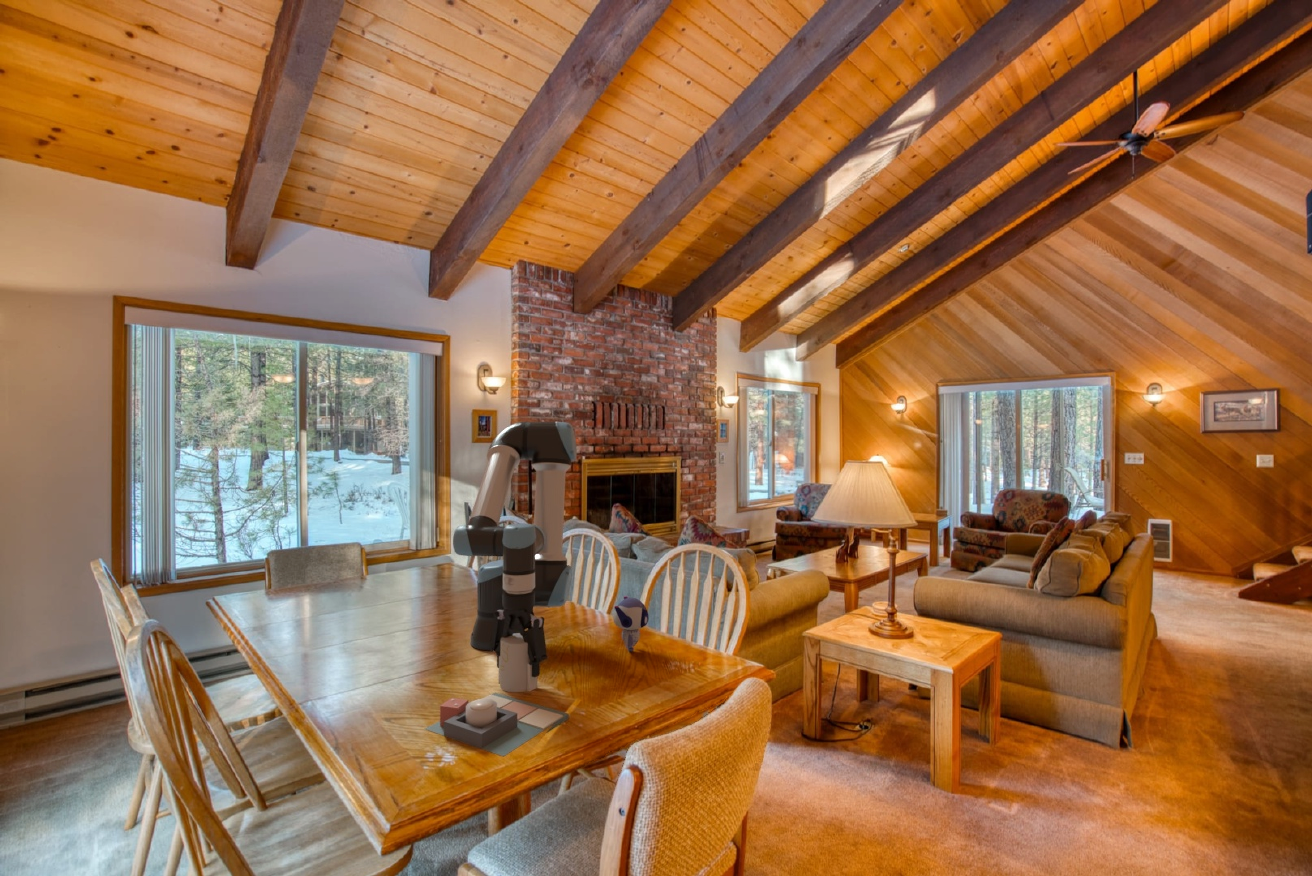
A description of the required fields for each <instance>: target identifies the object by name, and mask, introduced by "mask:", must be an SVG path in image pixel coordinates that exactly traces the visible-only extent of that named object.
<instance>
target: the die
mask: <svg viewBox="0 0 1312 876" xmlns="http://www.w3.org/2000/svg"><path fill="white" fill-rule="evenodd" d="M468 703H469V699H465V698H455V697H451V698H449V699H448V700H446V701H445V702H443V704H440V706H439V711H440V712H439V721H440V726H444V721H446V720H448V719H450V718H452V717H454V716H456V715H457V714H459V713H461V712H463V711H465V710H466V705H467V704H468Z"/></svg>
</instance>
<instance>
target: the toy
mask: <svg viewBox="0 0 1312 876" xmlns="http://www.w3.org/2000/svg"><path fill="white" fill-rule="evenodd" d="M612 618H613V623H614V624H615V626H617V627H618V628H620V629H622V631H621V638H622V641H623V643H624V647H625V648H626V649H627V651H628V652H630V653H631V652H633V651H634V647H635V646H636V644H637V643H638V642H639V640H640V636H641V633H640V629H642V628H644V627H646V625H647V624H648V622H649V618H650V617H649V611H648V609H647V607H646V605H645V604H644V603H643V602H642V601H641V600H640V599H638V598H636V597H628V596H623V599H622V600H621V601H620V602H619V603H618V605H615V606H614V611H613V617H612Z"/></svg>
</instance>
